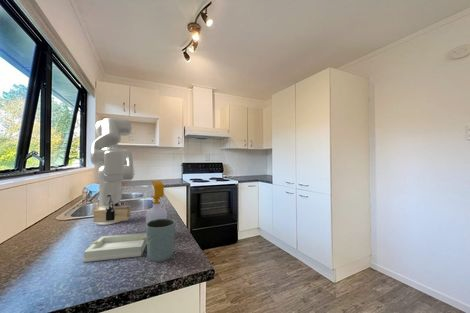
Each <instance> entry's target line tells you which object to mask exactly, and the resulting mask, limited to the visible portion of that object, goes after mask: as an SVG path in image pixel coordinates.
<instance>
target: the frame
mask: <svg viewBox="0 0 470 313" xmlns="http://www.w3.org/2000/svg"><path fill="white" fill-rule="evenodd" d="M111 208H112V206H111ZM131 208H132V206H131V205H120V206H114V211H115V219H114V220H111V221H120V222H124V221H129V219H130V218H131V216H132V213H131V211H132V209H131ZM96 222H109V221H106V207H99V206H98V207H97V208H96V209H94V210H93V223H96Z"/></svg>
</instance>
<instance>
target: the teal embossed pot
mask: <svg viewBox="0 0 470 313" xmlns="http://www.w3.org/2000/svg"><path fill="white" fill-rule="evenodd" d="M176 222H177V221H176V220H175V219H173V218H168V217H167V218H162V219H155V220H152V221H149V222H147V223H146V222H145V233H146V235H147V244H146V249H147V250H146V251H147V252H146V253H147V255H146V256H147V260H148V261H150V262H154V263H155V262H156V263H157V262H163V261H166V260H168V259H170V258H172V256H173V254H174V245H175V241H174V240H175V235H176V234H175V233H176Z"/></svg>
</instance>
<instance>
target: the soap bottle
mask: <svg viewBox="0 0 470 313" xmlns="http://www.w3.org/2000/svg"><path fill="white" fill-rule="evenodd" d="M150 183H151V184H152V185H153V186H154V194H153V195H150V197H151V198H153V200H154V201H153V202H152V207H151V208H150V209H149V210H147V211H146V214H145V224H146V223H147V222H149V221H152V220H155V219H162V218H168V212H167V209H165V208H163V206H162V204H161V201H159V200H161V198H163V197H164V193H165V192H164V190H165V185H164V183H163V182H162V181H161V180H153V181H151V182H150Z"/></svg>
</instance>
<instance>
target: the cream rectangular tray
mask: <svg viewBox="0 0 470 313" xmlns="http://www.w3.org/2000/svg"><path fill="white" fill-rule="evenodd" d="M146 247H147V235H146V232H141V233H140V232H138V233H127V234H114V235H113V234H112V235H101V236H100V237H98V239H97V240H95V241H93V242H92V244H91V245H90V246H88V248H87V249H86V250H85V251H83V258H82V262H83V263H87V262H96V261H105V260H106V261H107V260H115V259H117V260H118V259H123V258H126V259H127V258H136V257H142V255H143V253H144V250H145V249H146Z"/></svg>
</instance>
